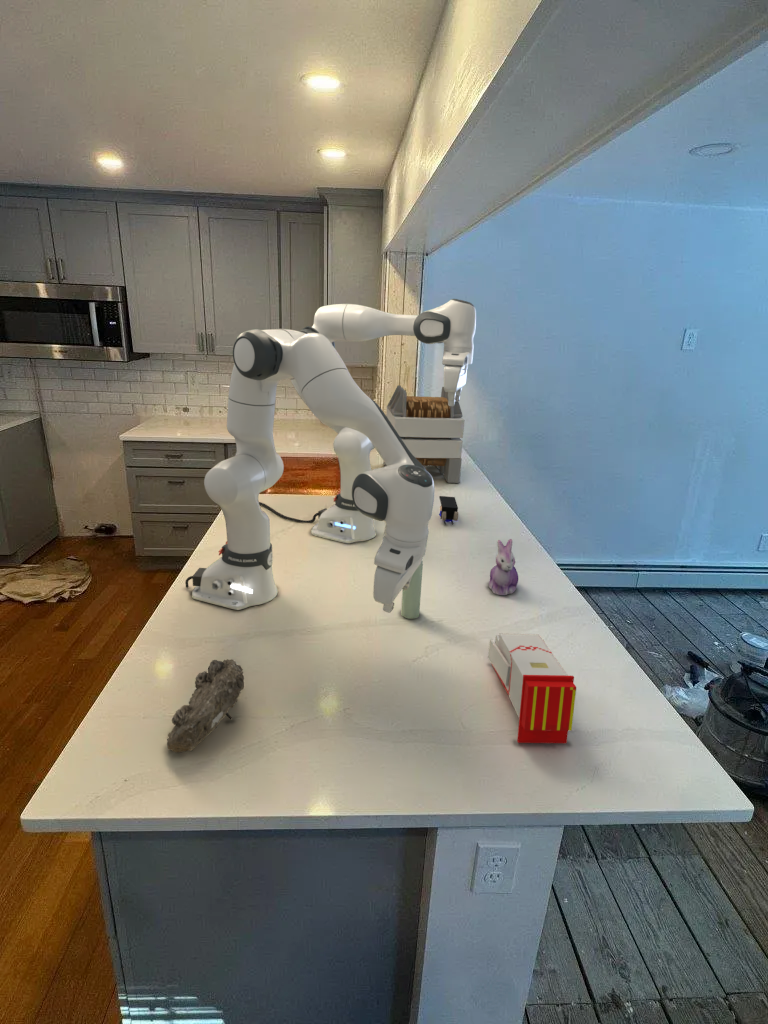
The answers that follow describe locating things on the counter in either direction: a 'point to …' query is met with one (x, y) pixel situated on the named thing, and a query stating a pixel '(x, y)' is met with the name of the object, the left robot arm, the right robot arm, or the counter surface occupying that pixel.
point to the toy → (534, 687)
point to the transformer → (429, 430)
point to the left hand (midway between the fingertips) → (396, 598)
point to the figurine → (504, 571)
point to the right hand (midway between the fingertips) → (454, 403)
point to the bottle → (412, 595)
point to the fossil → (206, 705)
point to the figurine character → (448, 509)
